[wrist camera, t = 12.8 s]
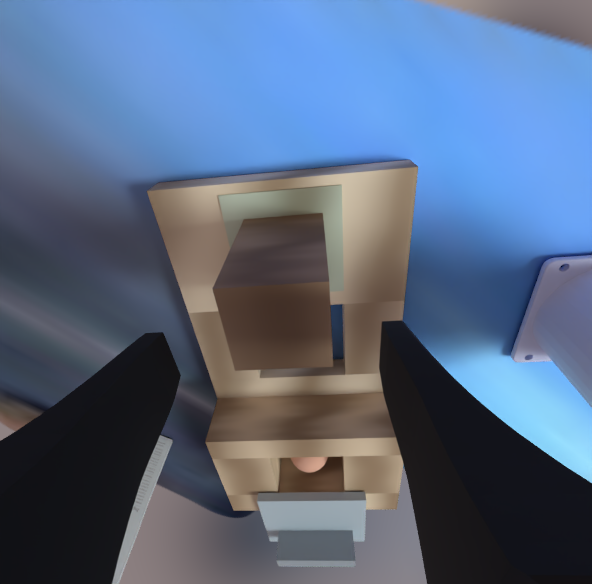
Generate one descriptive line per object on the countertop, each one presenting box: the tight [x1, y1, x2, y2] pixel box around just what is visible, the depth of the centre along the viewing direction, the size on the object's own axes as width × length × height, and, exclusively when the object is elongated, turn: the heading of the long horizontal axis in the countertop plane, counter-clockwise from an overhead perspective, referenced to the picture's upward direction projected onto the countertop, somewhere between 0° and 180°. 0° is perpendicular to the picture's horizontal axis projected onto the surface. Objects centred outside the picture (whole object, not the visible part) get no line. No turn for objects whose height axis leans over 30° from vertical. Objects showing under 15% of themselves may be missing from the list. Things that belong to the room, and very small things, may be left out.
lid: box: [257, 492, 366, 567], centre depth 26 cm, size 8×7×3 cm
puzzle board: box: [147, 160, 418, 510], centre depth 22 cm, size 13×25×5 cm, turn 6°
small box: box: [112, 435, 173, 584], centre depth 26 cm, size 8×6×13 cm
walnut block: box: [212, 213, 333, 371], centre depth 15 cm, size 4×4×6 cm
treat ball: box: [291, 457, 328, 473], centre depth 25 cm, size 3×3×3 cm
